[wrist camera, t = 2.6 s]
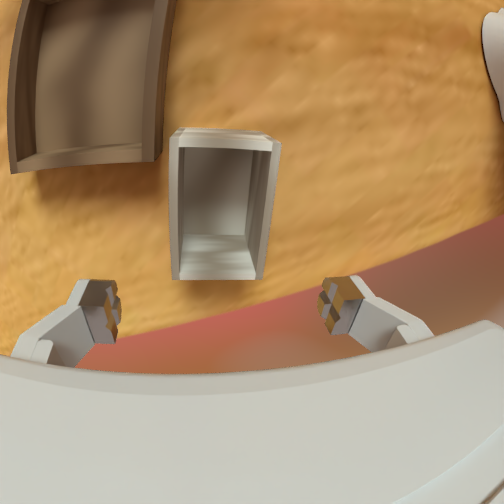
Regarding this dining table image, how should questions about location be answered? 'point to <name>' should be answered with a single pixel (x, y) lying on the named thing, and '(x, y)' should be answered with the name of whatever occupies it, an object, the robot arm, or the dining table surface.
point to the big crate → (87, 82)
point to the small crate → (220, 202)
